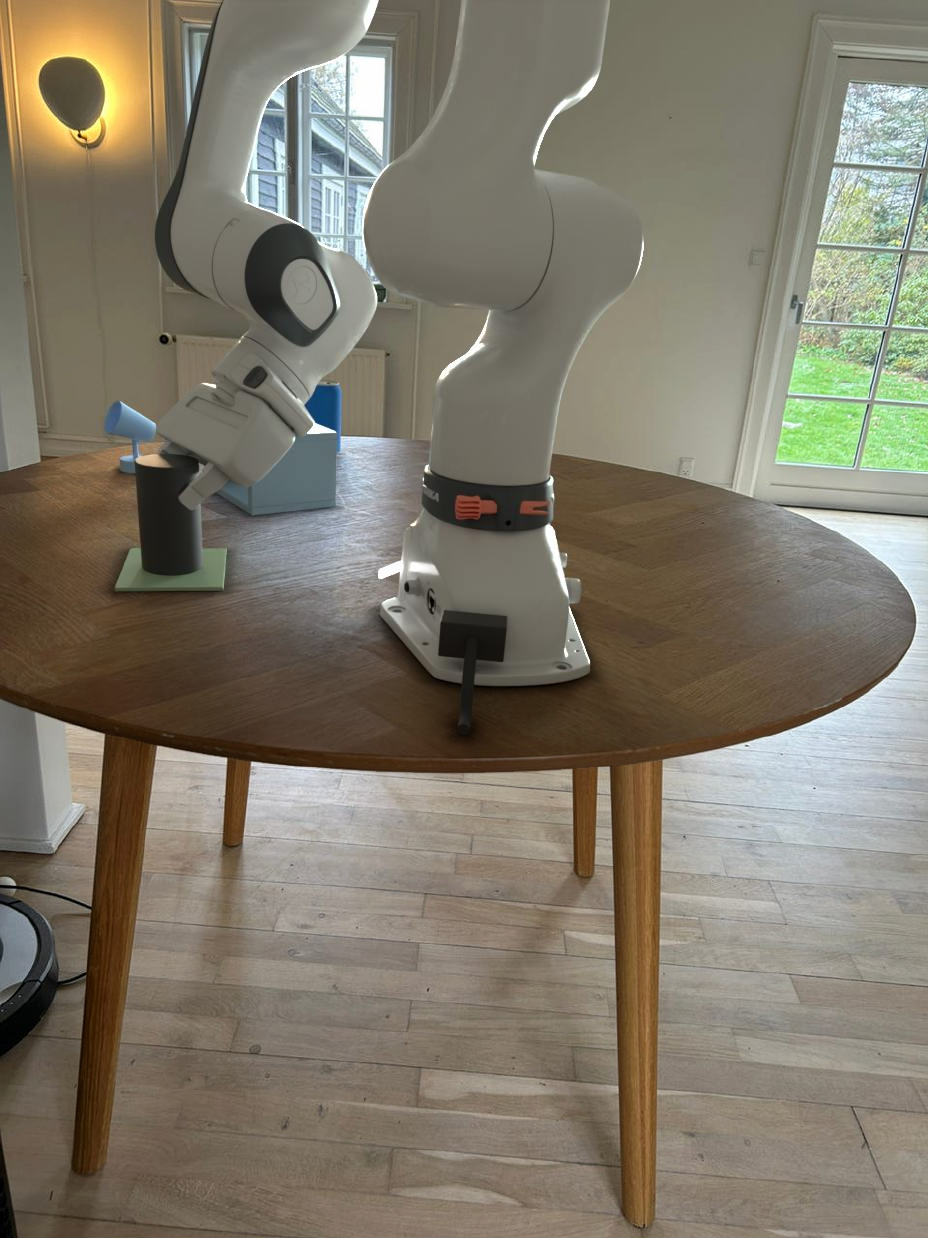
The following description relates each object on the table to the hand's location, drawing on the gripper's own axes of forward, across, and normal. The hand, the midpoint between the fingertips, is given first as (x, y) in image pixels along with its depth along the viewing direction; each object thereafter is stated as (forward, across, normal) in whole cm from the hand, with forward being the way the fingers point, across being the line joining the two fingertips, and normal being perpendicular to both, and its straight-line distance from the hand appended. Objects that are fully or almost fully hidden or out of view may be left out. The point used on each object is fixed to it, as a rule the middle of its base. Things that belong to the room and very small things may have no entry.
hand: (166, 493), depth 84 cm
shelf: (-10, -24, +21) cm, 33 cm away
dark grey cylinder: (+5, -1, +6) cm, 8 cm away
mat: (+5, -1, +6) cm, 8 cm away
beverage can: (-24, -45, +34) cm, 61 cm away
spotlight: (-1, -44, +12) cm, 45 cm away
